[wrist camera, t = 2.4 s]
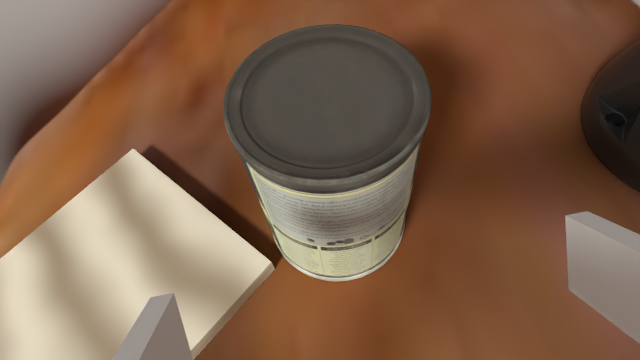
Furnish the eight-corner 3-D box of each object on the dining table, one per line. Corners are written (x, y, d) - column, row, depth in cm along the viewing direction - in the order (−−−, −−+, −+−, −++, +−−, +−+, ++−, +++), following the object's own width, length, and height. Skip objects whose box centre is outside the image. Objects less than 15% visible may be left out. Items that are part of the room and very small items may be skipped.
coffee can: (245, 209, 35) (185, 85, 23) (347, 141, 37) (342, -3, 25) (324, 313, 30) (302, 227, 18) (434, 227, 33) (478, 101, 21)
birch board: (140, 158, 38) (132, 148, 37) (274, 269, 32) (271, 261, 31) (-82, 347, 31) (-101, 343, 30) (36, 535, 25) (19, 540, 24)
